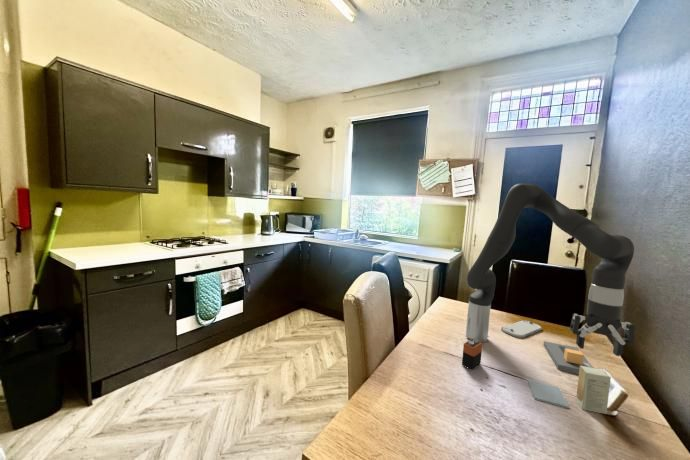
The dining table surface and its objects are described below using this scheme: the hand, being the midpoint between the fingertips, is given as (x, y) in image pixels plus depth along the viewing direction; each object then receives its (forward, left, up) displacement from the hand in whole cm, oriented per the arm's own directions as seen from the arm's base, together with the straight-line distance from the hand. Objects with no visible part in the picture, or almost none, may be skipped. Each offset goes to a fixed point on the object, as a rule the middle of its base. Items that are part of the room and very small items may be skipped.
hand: (598, 351), depth 82 cm
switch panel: (+3, +30, -19) cm, 36 cm away
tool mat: (-11, +1, -19) cm, 22 cm away
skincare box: (0, 0, -19) cm, 19 cm away
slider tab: (+3, +25, -16) cm, 30 cm away
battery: (-34, +7, -19) cm, 40 cm away
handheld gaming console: (-9, +53, -19) cm, 57 cm away
